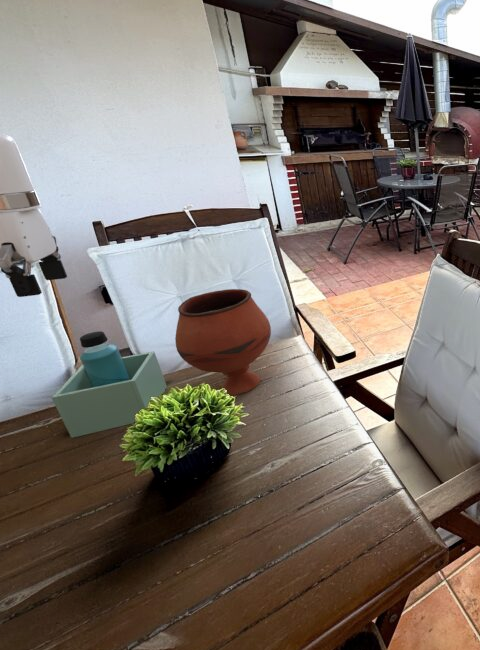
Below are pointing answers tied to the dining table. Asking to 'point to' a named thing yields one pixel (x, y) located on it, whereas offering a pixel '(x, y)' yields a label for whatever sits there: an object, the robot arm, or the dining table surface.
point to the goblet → (223, 336)
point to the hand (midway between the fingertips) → (44, 286)
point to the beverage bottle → (102, 360)
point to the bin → (109, 397)
